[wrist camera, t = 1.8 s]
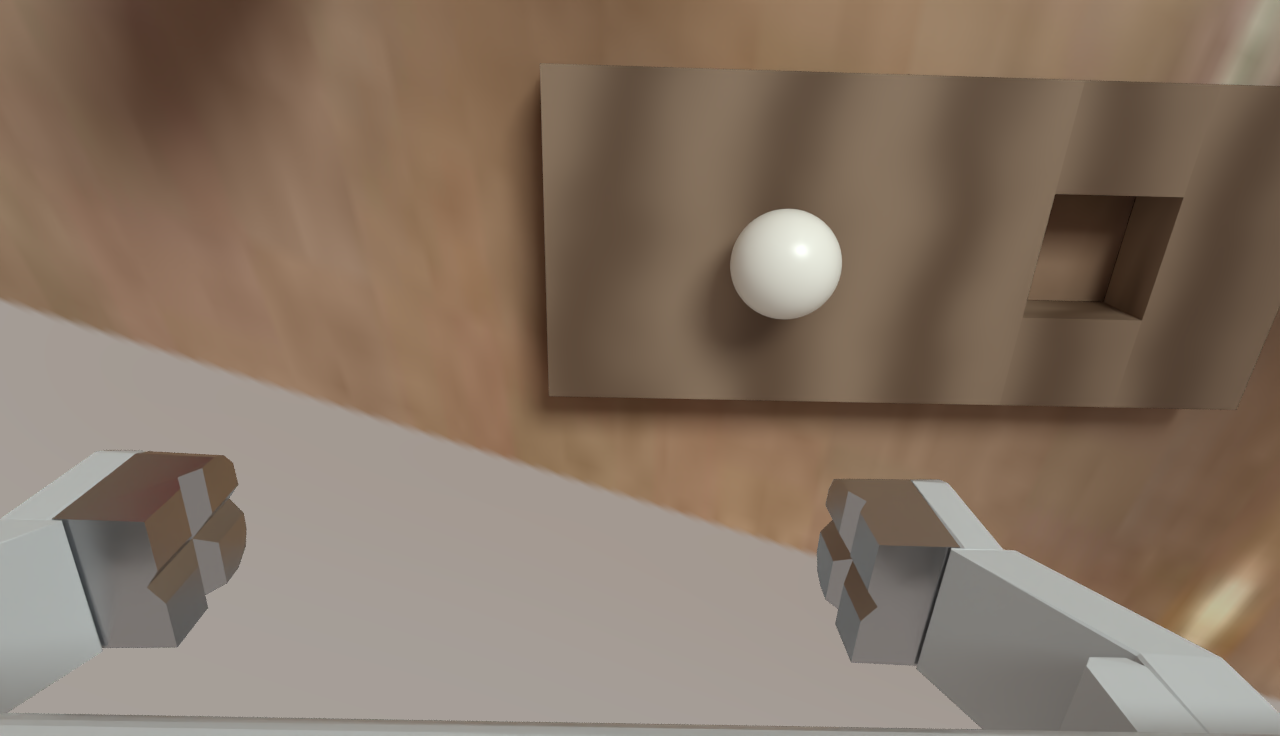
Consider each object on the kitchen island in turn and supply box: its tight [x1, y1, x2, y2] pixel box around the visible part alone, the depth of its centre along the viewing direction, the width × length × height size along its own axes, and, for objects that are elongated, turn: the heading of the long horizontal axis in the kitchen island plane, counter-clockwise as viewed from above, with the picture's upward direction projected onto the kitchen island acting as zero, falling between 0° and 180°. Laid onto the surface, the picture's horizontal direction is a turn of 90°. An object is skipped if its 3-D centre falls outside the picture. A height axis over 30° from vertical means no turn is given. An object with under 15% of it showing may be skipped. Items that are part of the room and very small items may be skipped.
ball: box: [730, 209, 842, 319], centre depth 25 cm, size 4×4×4 cm
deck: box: [540, 63, 1280, 410], centre depth 28 cm, size 30×13×2 cm, turn 88°
